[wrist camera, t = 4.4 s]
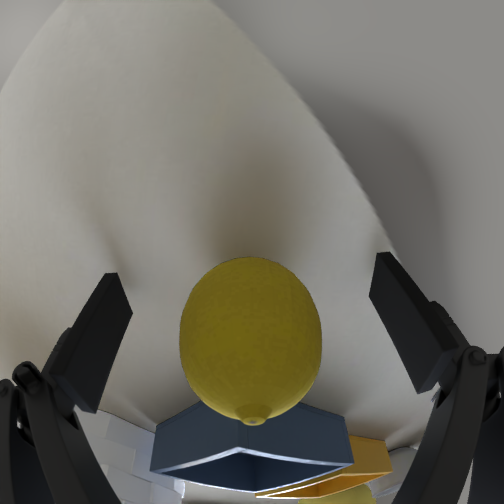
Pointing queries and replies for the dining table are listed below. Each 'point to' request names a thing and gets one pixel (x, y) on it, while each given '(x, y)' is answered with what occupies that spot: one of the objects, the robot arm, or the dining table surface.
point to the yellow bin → (342, 473)
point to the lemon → (250, 339)
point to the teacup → (394, 472)
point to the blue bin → (250, 448)
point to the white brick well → (128, 460)
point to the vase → (344, 497)
